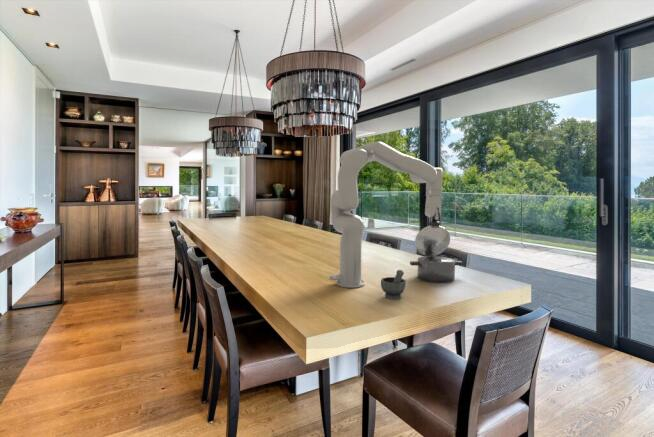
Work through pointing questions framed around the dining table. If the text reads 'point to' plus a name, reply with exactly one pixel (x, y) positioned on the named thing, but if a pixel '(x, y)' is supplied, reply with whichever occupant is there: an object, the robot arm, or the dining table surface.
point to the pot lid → (432, 239)
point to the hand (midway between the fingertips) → (432, 230)
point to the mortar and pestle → (393, 286)
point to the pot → (436, 269)
